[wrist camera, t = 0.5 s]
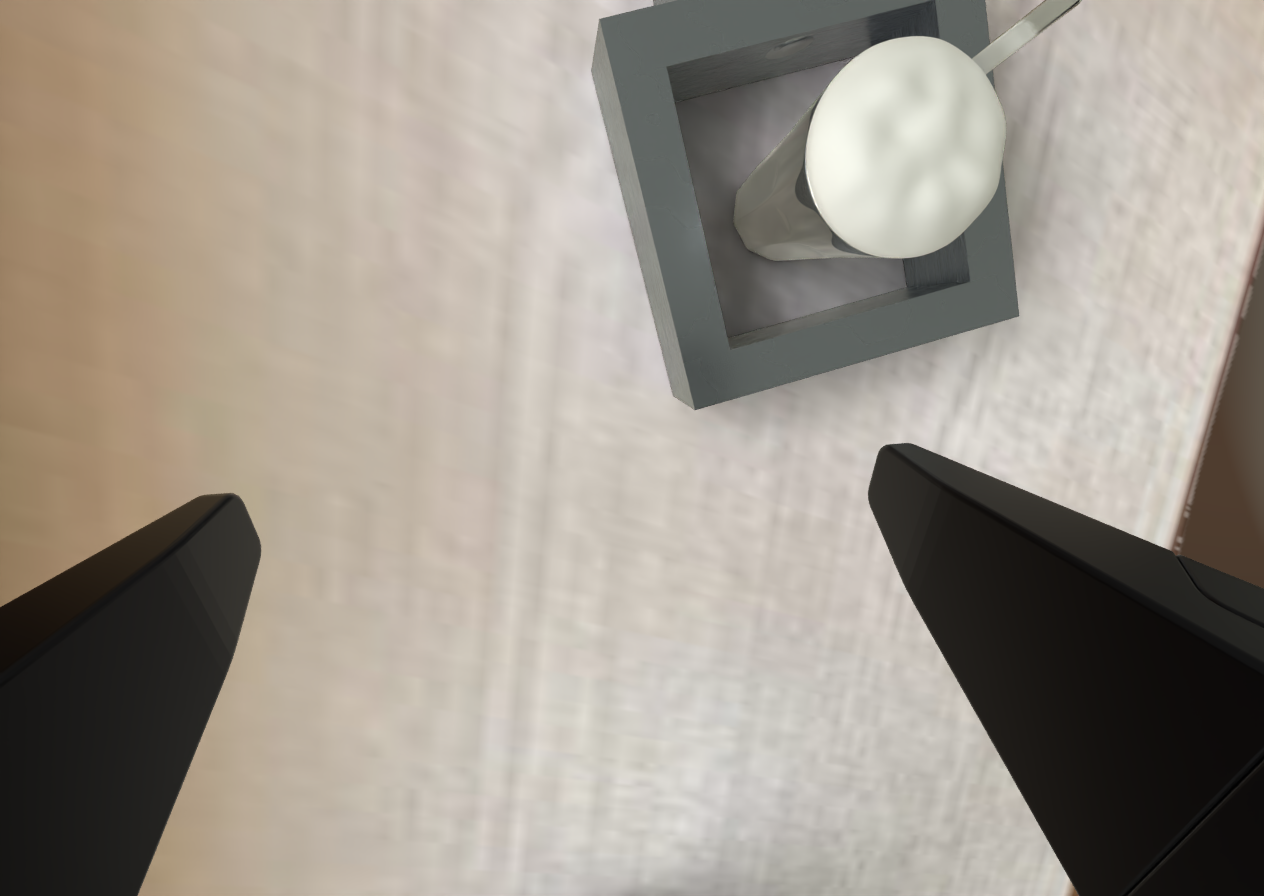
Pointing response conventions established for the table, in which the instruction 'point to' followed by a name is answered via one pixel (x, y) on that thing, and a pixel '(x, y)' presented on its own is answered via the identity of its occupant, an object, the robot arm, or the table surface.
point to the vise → (667, 207)
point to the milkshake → (888, 153)
